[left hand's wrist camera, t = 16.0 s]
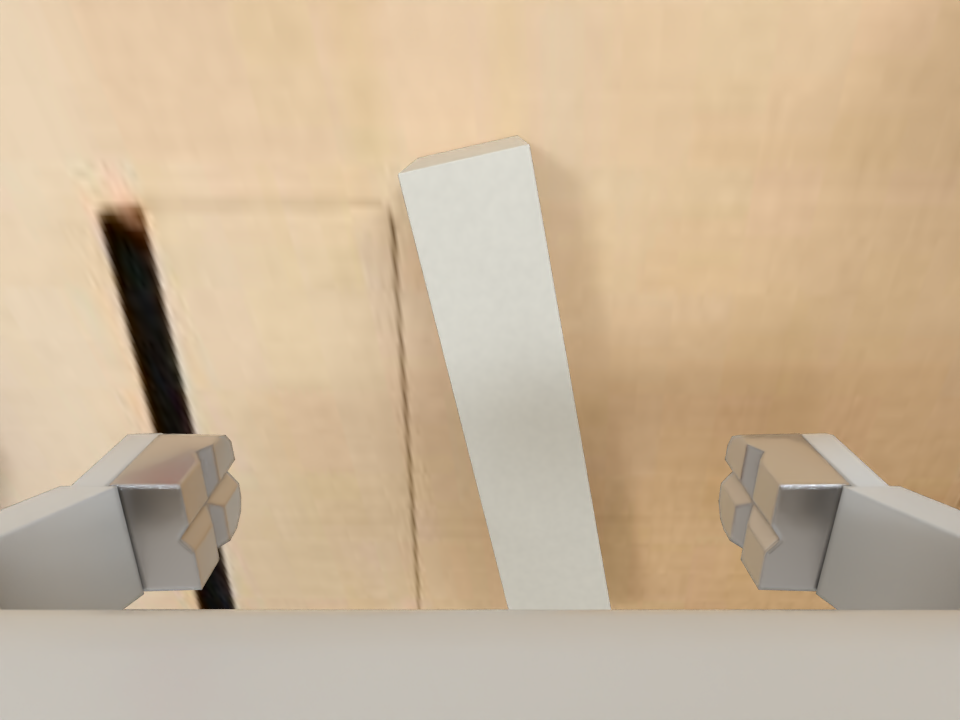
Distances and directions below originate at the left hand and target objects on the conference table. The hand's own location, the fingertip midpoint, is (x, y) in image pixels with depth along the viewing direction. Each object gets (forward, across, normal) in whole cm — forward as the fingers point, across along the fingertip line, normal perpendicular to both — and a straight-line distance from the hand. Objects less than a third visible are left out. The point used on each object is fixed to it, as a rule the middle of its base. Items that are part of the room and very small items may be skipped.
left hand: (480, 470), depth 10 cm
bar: (+25, +2, -10) cm, 27 cm away
